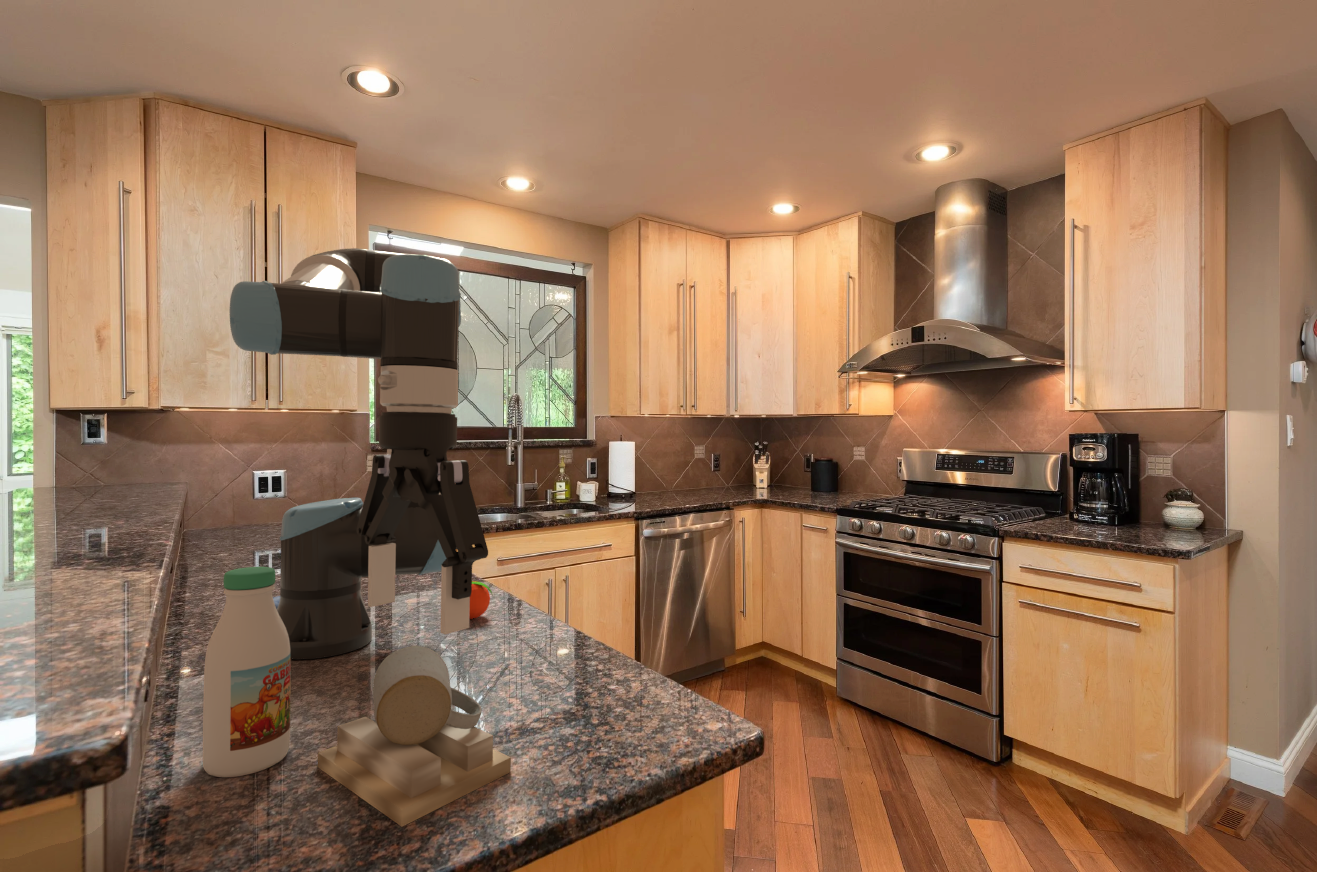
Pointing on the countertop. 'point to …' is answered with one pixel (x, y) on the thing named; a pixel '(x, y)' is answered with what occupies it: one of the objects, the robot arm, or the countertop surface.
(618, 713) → the countertop surface
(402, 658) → the speckled stoneware cup
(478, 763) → the wooden block with ridges
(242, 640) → the milk bottle
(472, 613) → the clementine
